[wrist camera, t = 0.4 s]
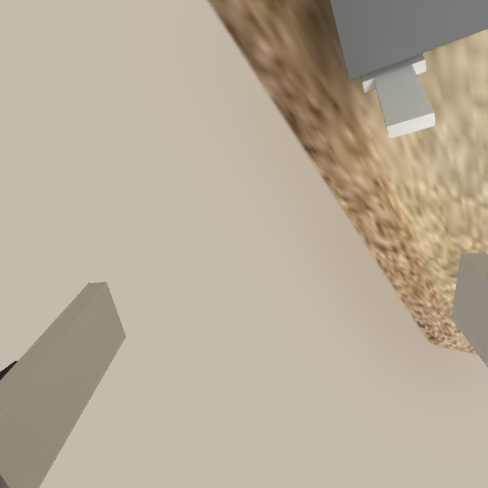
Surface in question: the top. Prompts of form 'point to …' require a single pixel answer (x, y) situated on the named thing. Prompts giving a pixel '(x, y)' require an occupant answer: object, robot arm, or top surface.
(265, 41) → the top surface
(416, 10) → the housing
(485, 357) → the robot arm
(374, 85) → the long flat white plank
